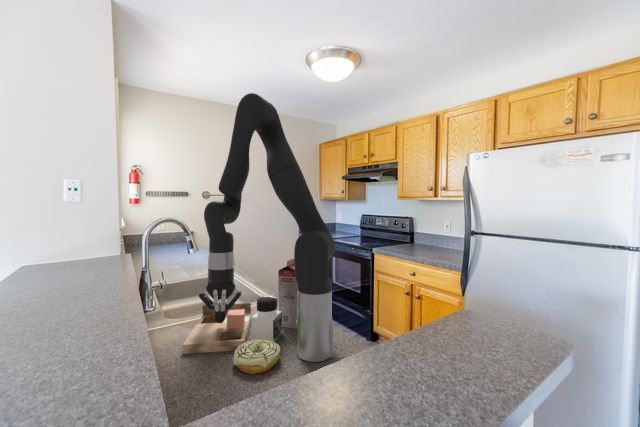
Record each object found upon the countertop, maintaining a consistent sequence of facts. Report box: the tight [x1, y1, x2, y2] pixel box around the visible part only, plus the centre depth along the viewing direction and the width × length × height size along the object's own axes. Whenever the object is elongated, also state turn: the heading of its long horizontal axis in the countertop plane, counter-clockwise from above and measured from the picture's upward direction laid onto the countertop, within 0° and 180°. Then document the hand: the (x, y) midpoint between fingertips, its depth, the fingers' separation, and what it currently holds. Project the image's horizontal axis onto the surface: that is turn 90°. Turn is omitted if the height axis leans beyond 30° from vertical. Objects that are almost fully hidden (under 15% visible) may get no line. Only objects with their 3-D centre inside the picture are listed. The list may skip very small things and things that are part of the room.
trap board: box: [182, 302, 252, 355], centre depth 87 cm, size 16×22×6 cm
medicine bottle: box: [250, 295, 283, 343], centre depth 85 cm, size 7×7×12 cm
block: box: [227, 309, 245, 329], centre depth 88 cm, size 5×5×4 cm
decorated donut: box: [232, 339, 281, 375], centre depth 71 cm, size 11×12×4 cm
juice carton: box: [277, 258, 298, 330], centre depth 95 cm, size 7×7×22 cm
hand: (220, 322), depth 86 cm, fingers closed
